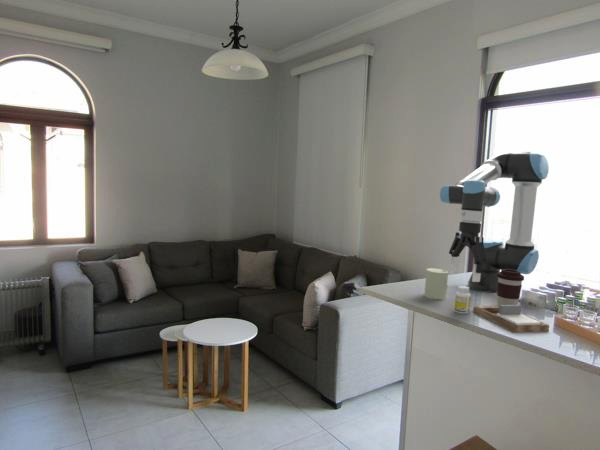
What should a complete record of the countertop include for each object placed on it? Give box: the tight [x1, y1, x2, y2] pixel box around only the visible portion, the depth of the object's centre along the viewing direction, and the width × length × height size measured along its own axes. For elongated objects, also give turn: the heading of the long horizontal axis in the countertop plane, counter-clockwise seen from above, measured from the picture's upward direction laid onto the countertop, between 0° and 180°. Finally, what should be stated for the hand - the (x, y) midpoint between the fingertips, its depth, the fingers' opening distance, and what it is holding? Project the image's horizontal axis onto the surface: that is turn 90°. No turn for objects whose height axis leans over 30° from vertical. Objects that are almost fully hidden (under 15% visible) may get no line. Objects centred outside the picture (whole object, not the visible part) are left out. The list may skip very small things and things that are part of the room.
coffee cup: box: [496, 269, 525, 306], centre depth 172 cm, size 10×10×15 cm
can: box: [423, 267, 449, 301], centre depth 182 cm, size 9×9×12 cm
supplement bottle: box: [454, 285, 472, 315], centre depth 161 cm, size 5×5×10 cm
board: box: [472, 305, 550, 333], centre depth 154 cm, size 14×22×2 cm, turn 13°
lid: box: [497, 304, 542, 325], centre depth 148 cm, size 9×10×4 cm
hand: (464, 277), depth 160 cm, fingers open, 13 cm apart
